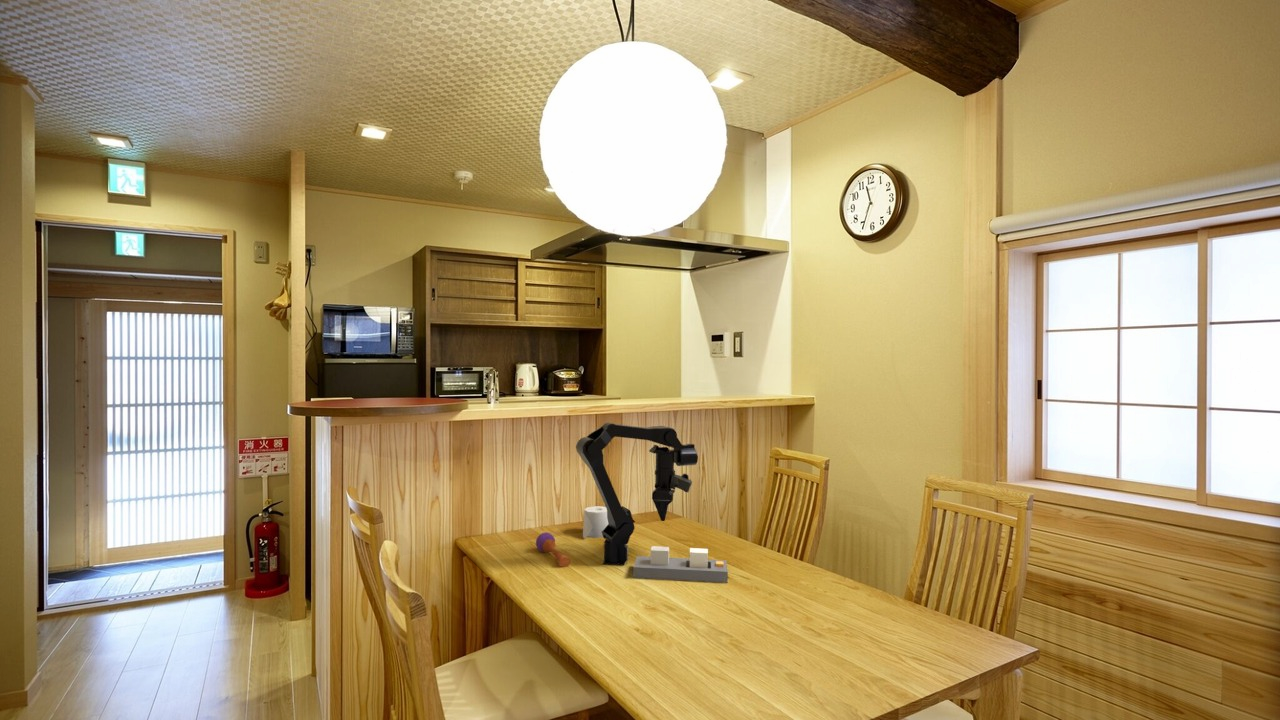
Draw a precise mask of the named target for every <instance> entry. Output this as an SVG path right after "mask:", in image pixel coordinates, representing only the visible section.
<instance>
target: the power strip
mask: <svg viewBox="0 0 1280 720" xmlns="http://www.w3.org/2000/svg"><path fill="white" fill-rule="evenodd" d="M727 564H728V561H727V560H726V559H725V560H724V559H709V558H708V568H690V557H689V558H687V557H685V558H683V557H670V547H669V546H660V545H659V546H655V545H652V546H651V548H650V556H646V555H645V556H644V555H643V556H642V555H637V556H636V559H635V562H634V564H633V573H632V574H633V576H632V577H633V579H645V580H664V579H666V580H667V581H683V580H685V581H686V582H703V581H705V582H706V583H722V582H724V583H727V584H728V579H729V577H728V573H729V571H728V565H727ZM666 580H665V581H666Z"/></svg>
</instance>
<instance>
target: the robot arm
mask: <svg viewBox="0 0 1280 720" xmlns="http://www.w3.org/2000/svg"><path fill="white" fill-rule="evenodd" d="M616 437H617V438H623V439H624V438H625V439H634V440H642V441H649V442H653V443H656V444H654V445H653V446H652V447H651V448H650V449H649V450H648V451H649V453H652V454H655V469H654V470H655V471H654V476H655V479H654V482H655V483H654V490H652V493H651V494H652V495H651V500H652V502H653V504H654V506H655V508H656V511H657V513H658V516H659V518H660V521H661V522H665V521H666V518H667V517H666V516H667V513H668V508H669V505H670V504H671V503H672V502H674V494H675V492H676V488H677V489H678V490H682V491H683V492H684V493H689V492H690V489H691V487H692V484H693V480H692V479H690V478H689V474H687V473H685V472H684V473H683V474H681V475H679V474H676V470H675V465H676V466H678V467H683V466H685V467H687V466H689V467H690V466H695V465H697V463H698V461H699V460H698V459H699V456H698V452H697V449H696V447H695V444H694V443H686V444H682V442H681V441H680V440H679V438H678V434H677V432H676V430H675V428H672V427H670V426H666V425H657V426H655V425H654V426H653V425H652V426H648V427H644V426H642V427H641V426H636V425H635V426H634V425H627V424H626V425H625V424H618V423H617V424H616V423H614V422H613V423H612V422H605V423H603V425H602V426H601V427H599V428H598V429H596V430H594V431H593V432H590V433H589V434H588V435H587V436H584V437H581V438H580V439H578V441H577V443H576V445H575V449H576V453H577V454H578V455H579V457H580V459H581V460H582V462H584V464H585V465H586V466H587V468H588V469H589V470H590V473H591V475H592V478H593V480H594V482H595V486H596V488H597V489H598V492H599V495H600V497H601V499H602V501H603V503H604V507H606V508H607V519H608V523H609V524H608V525H607V526H606V527H605V529H604V530H603V531H602V535H603V537H602V538H603V539H604V543H603V545H604V546H603V547H604V548H603V561H602V565H614V566H615V565H616V566H625V565H626V563H627V561H628V559H629V545H628V544H629V541H630V538H631V536H632V535H633V533H634V531H635V527H636V526H635V523H636V521H635V520H634V518H633V516H632V512H631V510H630V509H629V508H627V507H625V506H623V505H621V502H620V500H619V498H618V496H617V493H616V490H615V488H614V486H613V484H612V481H611V479H610V477H609V474H608V472H607V469H606V467H605V463H604V462H605V461H604V452H603V450H604V449H605V448H607V446H608V445H609V444H610V442H611V441H612V440H613V439H614V438H616ZM657 444H659V445H662V446H659V445H657ZM668 447H669V448H668ZM670 448H672V449H670Z"/></svg>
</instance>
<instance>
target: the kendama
mask: <svg viewBox="0 0 1280 720" xmlns="http://www.w3.org/2000/svg"><path fill="white" fill-rule="evenodd" d="M535 546H536V548H537V549H538V550H539V551H540V552H542V553H548V554H549V553H552V554H553V556H554V558H555V560H556V561H557V563H558V565H559V567H560V568H567V567H569V566H570V563H571V558H570V557H569V556H567V555H565V554H563V552H560V551H559V550H557V549H556V539H555V537H554V536H553V534H552V533H550V532H542V533H540V534H539V535H538V536H537V537H536V540H535Z"/></svg>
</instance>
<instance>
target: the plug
mask: <svg viewBox="0 0 1280 720" xmlns="http://www.w3.org/2000/svg"><path fill="white" fill-rule="evenodd" d="M708 555H709V549H708V548H699V547H698V548H696V547H690V548H689V559H690V568H708V559H709V557H708Z"/></svg>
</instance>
